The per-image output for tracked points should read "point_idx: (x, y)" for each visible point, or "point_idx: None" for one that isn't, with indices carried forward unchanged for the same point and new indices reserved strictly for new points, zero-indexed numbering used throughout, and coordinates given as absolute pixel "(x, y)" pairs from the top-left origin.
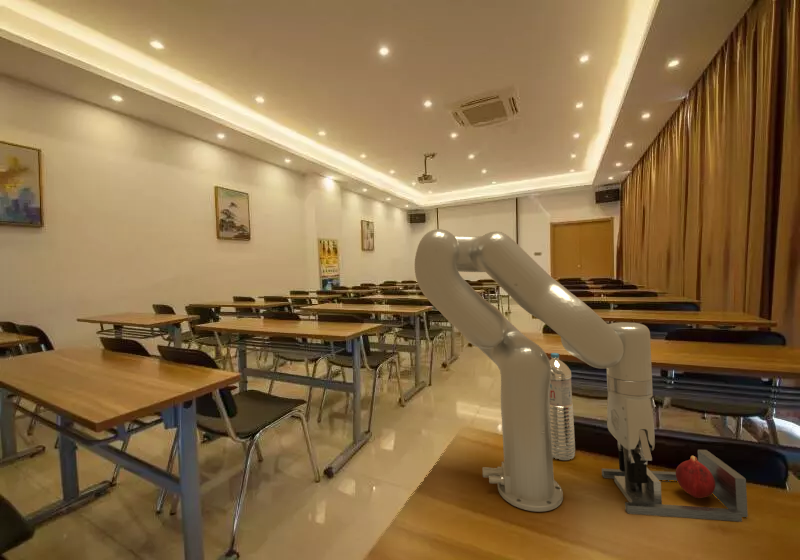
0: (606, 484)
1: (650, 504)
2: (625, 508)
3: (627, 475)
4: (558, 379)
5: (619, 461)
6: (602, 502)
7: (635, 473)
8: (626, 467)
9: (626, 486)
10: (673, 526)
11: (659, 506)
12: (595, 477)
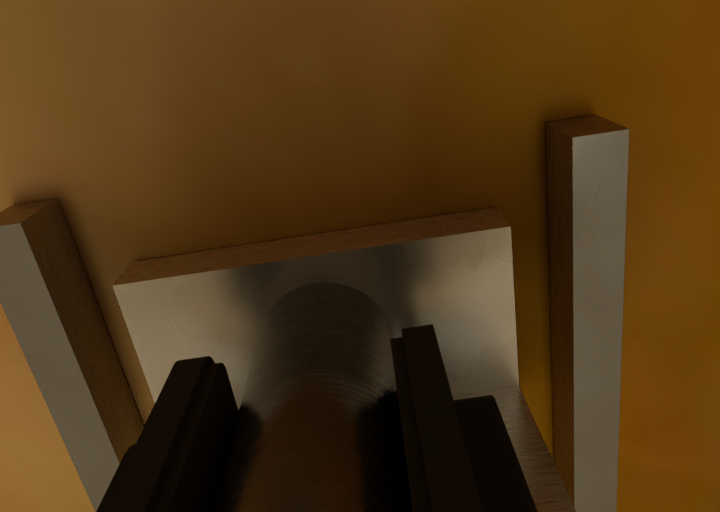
0: (430, 123)
1: (81, 404)
2: (47, 203)
3: (194, 385)
4: None
5: (436, 390)
6: (90, 15)
7: (102, 504)
8: (262, 438)
9: (302, 295)
10: (11, 445)
11: (86, 452)
12: (547, 36)
